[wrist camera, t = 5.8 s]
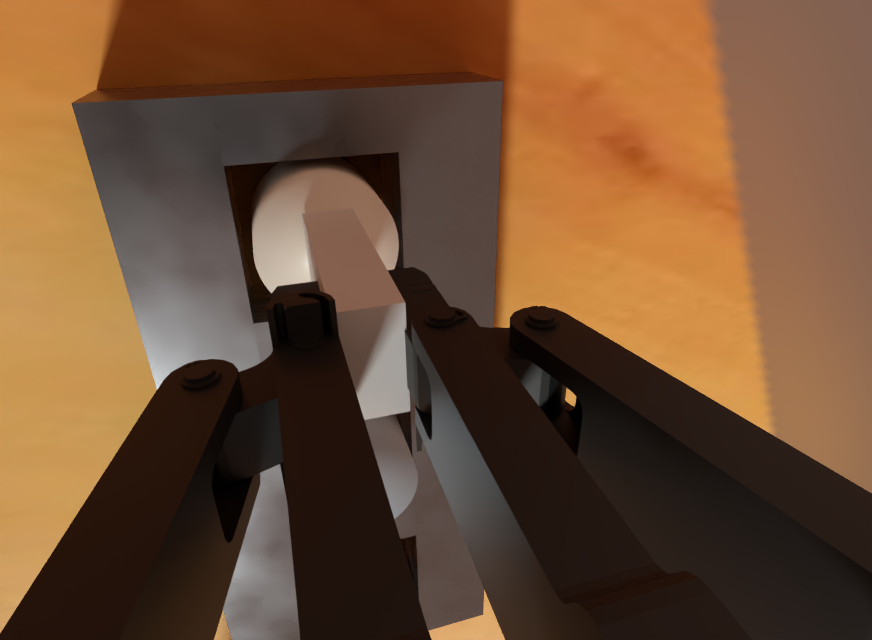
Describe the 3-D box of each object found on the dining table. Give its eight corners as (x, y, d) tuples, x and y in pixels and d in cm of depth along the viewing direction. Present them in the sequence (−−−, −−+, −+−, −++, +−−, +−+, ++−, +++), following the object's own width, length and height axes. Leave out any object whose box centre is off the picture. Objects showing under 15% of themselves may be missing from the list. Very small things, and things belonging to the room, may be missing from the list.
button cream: (240, 157, 19) (240, 185, 16) (371, 147, 20) (395, 171, 17) (261, 279, 21) (265, 324, 18) (379, 264, 22) (401, 304, 19)
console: (96, 89, 17) (71, 103, 15) (470, 72, 20) (502, 80, 18) (244, 626, 30) (245, 683, 27) (464, 567, 33) (483, 614, 30)
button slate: (279, 394, 22) (286, 455, 19) (393, 374, 23) (416, 429, 20) (295, 480, 24) (302, 548, 21) (398, 458, 25) (419, 520, 22)
